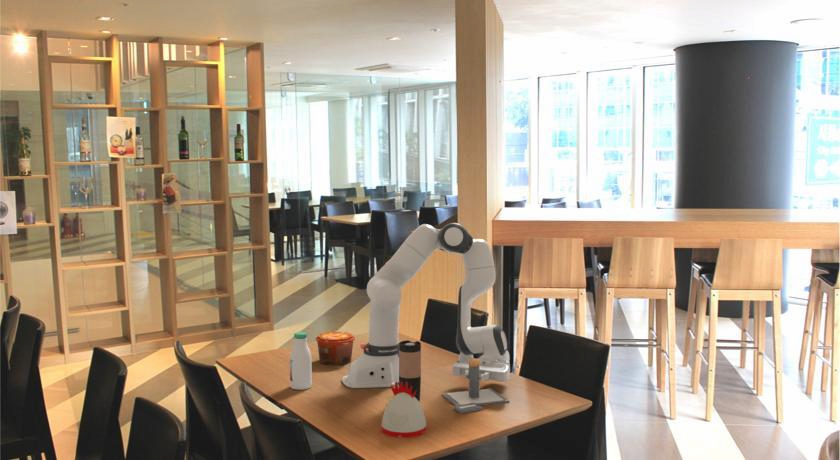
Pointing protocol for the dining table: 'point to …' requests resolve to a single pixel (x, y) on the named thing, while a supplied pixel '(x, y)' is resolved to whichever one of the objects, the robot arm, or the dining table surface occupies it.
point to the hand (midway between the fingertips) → (473, 377)
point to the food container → (335, 347)
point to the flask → (464, 357)
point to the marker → (474, 377)
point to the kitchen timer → (403, 414)
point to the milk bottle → (300, 363)
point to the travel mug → (410, 366)
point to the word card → (467, 408)
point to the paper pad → (484, 398)
